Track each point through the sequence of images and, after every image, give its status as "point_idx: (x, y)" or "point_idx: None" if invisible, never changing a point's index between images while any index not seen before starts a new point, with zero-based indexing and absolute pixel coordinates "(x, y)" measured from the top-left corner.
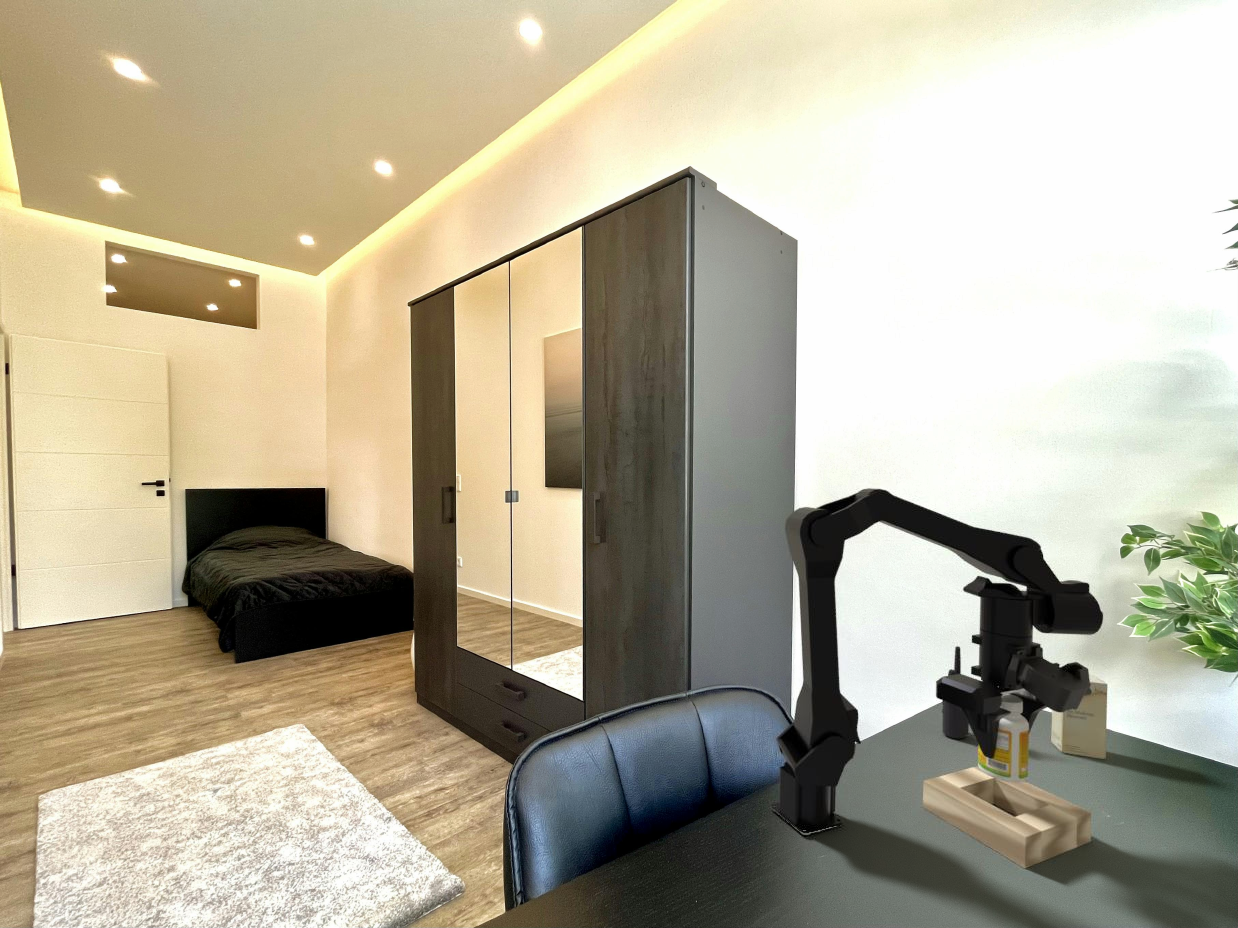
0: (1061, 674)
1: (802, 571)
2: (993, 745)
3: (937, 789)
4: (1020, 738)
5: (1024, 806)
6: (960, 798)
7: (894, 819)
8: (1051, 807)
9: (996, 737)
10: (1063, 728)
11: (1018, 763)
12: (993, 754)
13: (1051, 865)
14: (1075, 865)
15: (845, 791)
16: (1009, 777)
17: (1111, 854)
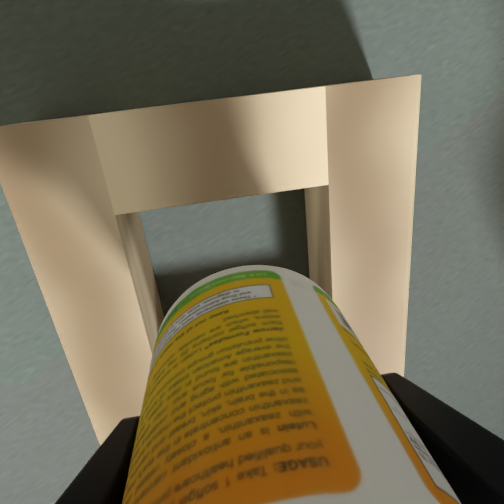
0: None
1: None
2: (460, 420)
3: (403, 359)
4: (336, 431)
5: (144, 274)
6: (392, 307)
7: (478, 322)
8: (126, 198)
9: (484, 468)
10: None
11: (298, 309)
12: (400, 384)
13: (284, 66)
14: (210, 42)
15: (476, 422)
16: (316, 285)
17: (24, 47)
